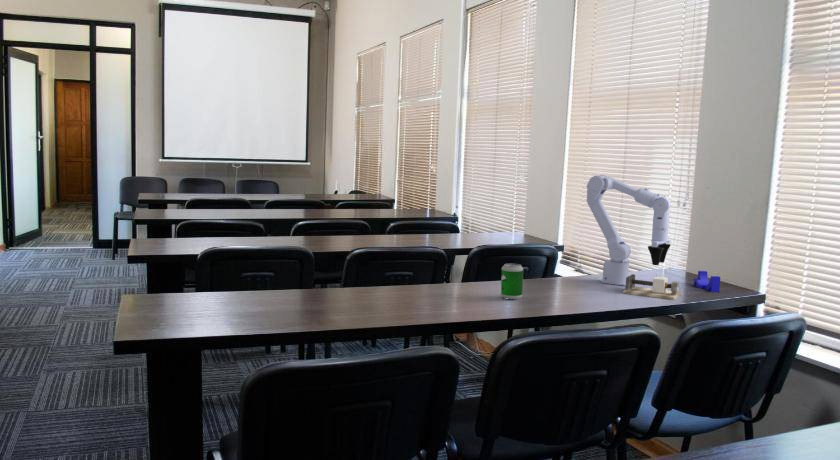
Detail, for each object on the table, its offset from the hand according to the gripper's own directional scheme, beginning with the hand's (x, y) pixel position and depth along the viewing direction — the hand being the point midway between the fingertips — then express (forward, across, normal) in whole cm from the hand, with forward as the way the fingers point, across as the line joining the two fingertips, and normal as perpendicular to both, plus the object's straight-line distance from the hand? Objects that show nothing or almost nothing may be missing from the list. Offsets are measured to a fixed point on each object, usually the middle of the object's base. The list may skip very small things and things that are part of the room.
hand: (658, 263), depth 251 cm
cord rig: (+9, -13, -2) cm, 16 cm away
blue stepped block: (+10, +10, -16) cm, 21 cm away
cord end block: (+8, -13, -4) cm, 16 cm away
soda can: (+10, -51, +37) cm, 63 cm away
